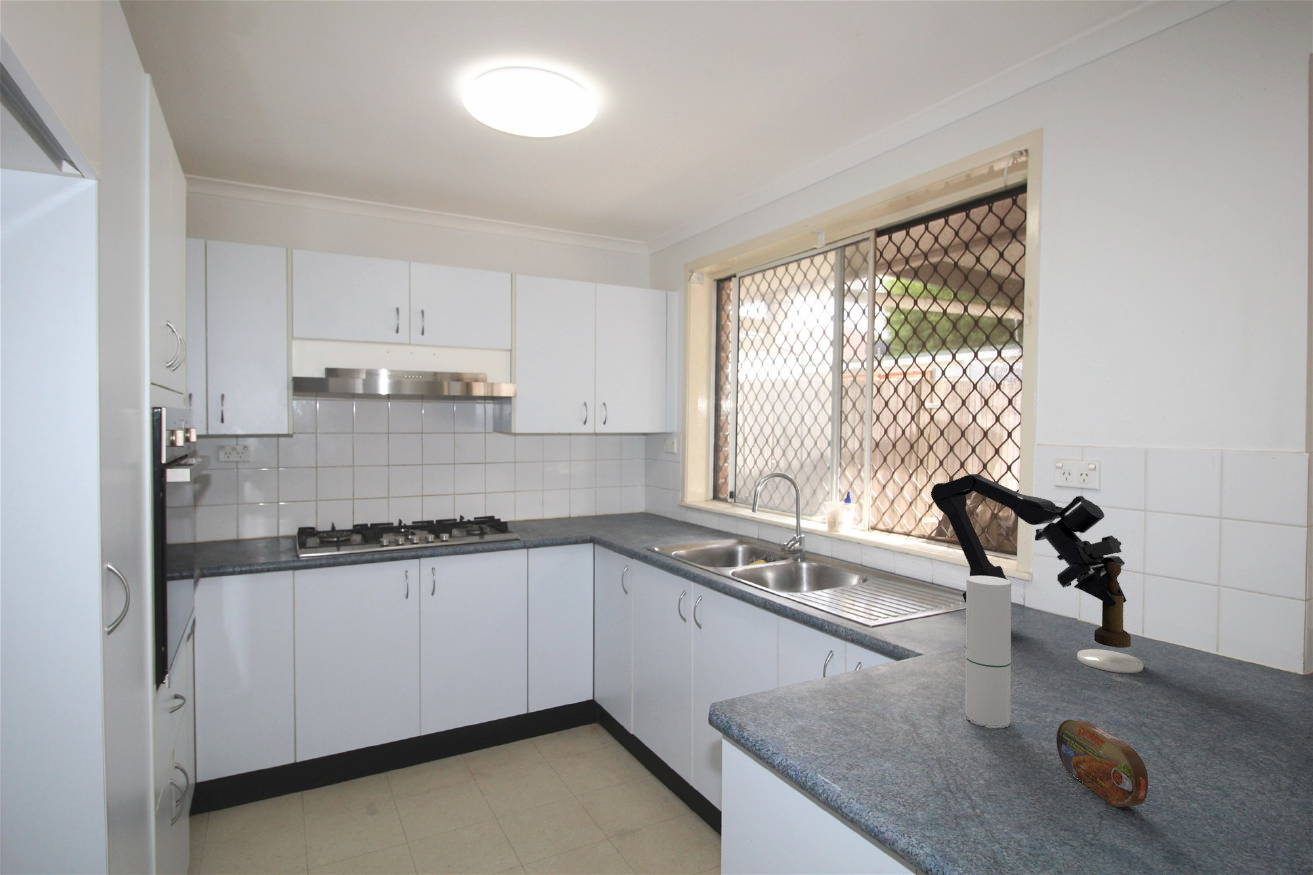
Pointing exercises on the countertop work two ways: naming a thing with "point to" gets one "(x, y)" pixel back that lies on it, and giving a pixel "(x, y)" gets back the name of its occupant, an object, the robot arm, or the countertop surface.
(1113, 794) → the tin
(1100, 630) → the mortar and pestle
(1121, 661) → the cream plate
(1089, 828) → the countertop surface
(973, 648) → the cylindrical container
